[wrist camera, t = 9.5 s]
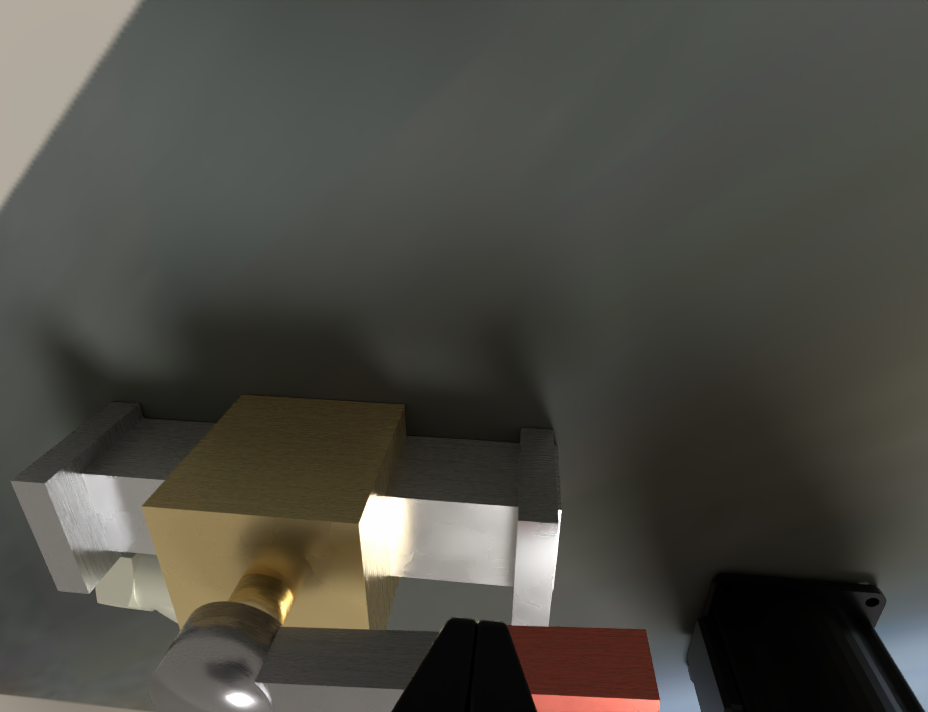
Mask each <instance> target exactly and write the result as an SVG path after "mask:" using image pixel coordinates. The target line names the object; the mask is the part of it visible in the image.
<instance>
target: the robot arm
mask: <svg viewBox="0 0 928 712" xmlns="http://www.w3.org/2000/svg"><path fill="white" fill-rule="evenodd" d="M726 585H728V586H726ZM885 604H886V598H885V596H884V595H883V593H882V592H881V590H880V589H879V588H878V587H876V586H872V585H862V584H851V583H839V582H827V581H815V580H803V579H791V578H779V577H767V576H756V575H744V574H732V573H722V574H719V575H717V576H716V577H714V579H713V580H712V583H711V587H710V591H709V594H708V598H707V602H706V605H705V609H704V613H703V615H701V616H700V617H699V618H698V619H697V620H696V624H695V628H694V632H693V635H692V639H691V643H690V647H689V650H688V654H687V660H688V663H689V668H688V672H689V676H690V679H691V681H692V682H693V683H694V686H695V690H696V694H697V698H698V701H699V705H700V709H701V712H925V710H924V709H923V707H922V706H921V704H920V702H919V701H918V699H917V697H916V696H915V694H914V693H913V691H912V689H911V688H910V686H909V684H908V683H907V681H906V679H905V678H904V676H903V675H902V673H901V671H900V670H899V668H898V666H897V665H896V663H895V662H894V660H893V658H892V657H891V655H890V653H889V652H888V650H887V649H886V647H885V645H884V644H883V642H882V640H881V639H880V637H879V636H878V634H877V632H876V631H875V629H874V628H875V625H876V623H877V621H878V619H879V617H880V615H881V613H882V611H883V609H884V606H885ZM391 712H537V709H536V707H535V704H534V701H533V698H532V695H531V692H530V689H529V686H528V683H527V681H526V678H525V675H524V672H523V669H522V666H521V663H520V660H519V657H518V655H517V652H516V649H515V646H514V643H513V640H512V637H511V634H510V631H509V629H508V626H507V625H506V623H504V622H502V621H493V620H481V621H479V622H478V625H477V622H476V620H475V619H472V618H461V617H451V618H449V619H448V620H447V622H446V623H445V625H444V626H443V628H442V630H441V631H440V633H439V634H438V636H437V638H436V639H435V641H434V643H433V644H432V646H431V647H430V649H429V651H428V652H427V654H426V656H425V657H424V659H423V660H422V662H421V664H420V665H419V667H418V669H417V670H416V672H415V674H414V675H413V677H412V678H411V680H410V682H409V683H408V685H407V687H406V688H405V690H404V691H403V693H402V695H401V696H400V698H399V700H398V701H397V703H396V704H395V706H394V708H393V709H392V711H391Z"/></svg>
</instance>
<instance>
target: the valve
mask: <svg viewBox="0 0 928 712" xmlns="http://www.w3.org/2000/svg"><path fill="white" fill-rule="evenodd" d="M11 483H12V486H13V488H14V490H15V493H16V495H17V497H18V499H19V502H20V504H21V506H22V509H23V511H24V513H25V516H26V518H27V520H28V522H29V525H30V527H31V529H32V532H33V534H34V536H35V539H36V541H37V543H38V545H39V548H40V550H41V552H42V555H43V557H44V559H45V561H46V564H47V566H48V568H49V571H50V573H51V575H52V578H53V580H54V582H55V584H56V587H57V589H58V591H65V592H75V593H85V594H89V593H90V592H91V591H92V590H93V589H94V588H95V586H96V585H97V584H98V583H99V582H100V581H101V579H102V578H103V577H104V576H105V575H106V573H107V572H108V571H109V570H110V569H111V568H112V566H113V565H114V564H115V563H116V562H117V561H118V559H119V558H120V557H121V556H122V555H123V553H124V552H131V553H142V554H154V555H157V558H158V561H159V564H160V567H161V570H162V573H163V576H164V580H165V583H166V586H167V589H168V592H169V595H170V599H171V602H172V605H173V608H174V611H175V614H176V618H177V621H178V624H179V627H180V630H181V629H182V627H183V626H184V624H185V622H186V621H187V619H188V618H189V616H190V615H191V614H192V612H193V611H194V610H196V609H197V608H199V607H200V606H202V605H205V604H208V603H212V602H219V601H229V602H237V603H243V604H246V605H250V606H253V607H255V608H258V609H260V610H262V611H264V612H266V613H268V614H270V615H271V616H272V617H274V618H275V619H277V620H278V621H279V622H280V623H281V624H282V625H283V626H284V627H309V628H340V629H370V630H386V626H387V622H388V619H389V615H390V611H391V607H392V603H393V600H394V596H395V592H396V588H397V585H398V581H399V577H411V578H422V579H433V580H445V581H456V582H467V583H478V584H489V585H501V586H512V587H513V599H512V625H515V626H547V627H548V625H549V615H550V605H551V595H552V590H553V589H554V579H555V570H556V560H557V550H558V541H559V531H560V521H561V512H562V508H561V493H560V478H559V463H558V447H557V445H554V431H553V430H552V429H536V428H521V438H520V443H512V442H497V441H482V440H466V439H451V438H436V437H421V436H406V419H405V405H404V404H387V403H371V402H354V401H338V400H321V399H305V398H288V397H272V396H255V395H241V396H240V398H239V399H238V400H237V401H236V402H235V403H234V404H233V405H232V406H231V408H230V409H229V410H228V411H227V412H226V413H225V414H224V415H223V416H222V418H221V419H220V420H219V421H218V422H217V423H208V422H192V421H177V420H162V419H147V418H144V417H143V413H142V410H141V406H140V403H124V402H111V403H109V404H108V405H107V406H105V407H104V408H103V409H102V410H100V411H99V412H98V413H96V414H95V415H94V416H93V417H91V418H90V419H89V420H88V421H86V422H85V423H84V424H82V425H81V426H80V427H79V428H77V429H76V430H75V431H73V432H72V433H71V434H70V435H68V436H67V437H66V438H64V439H63V440H62V441H61V442H59V443H58V444H57V445H56V446H54V447H53V448H52V449H50V450H49V451H48V452H47V453H45V454H44V455H43V456H41V457H40V458H39V459H38V460H36V461H35V462H34V463H32V464H31V465H30V466H29V467H27V468H26V469H25V470H24V471H22V472H21V473H20V474H18V475H17V476H16V477H15V478H13V479H12V480H11Z"/></svg>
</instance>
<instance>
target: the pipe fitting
mask: <svg viewBox="0 0 928 712" xmlns="http://www.w3.org/2000/svg"><path fill="white" fill-rule="evenodd" d="M96 596H97V602H98V603H101V604H106V605H111V606H117V607H123V608H130V609H138V610H146V611H153V610H154V609H155V610H157V611H159V612H160V613H162V614H163V615H165V616H167V617H168V618H170V619H171V620H173V621H175V622H176V623H178V621H177V618H176V614H175V611H174V608H173V605H172V602H171V599H170V595H169V592H168V589H167V586H166V583H165V580H164V576H163V573H162V570H161V567H160V564H159V561H158V558H157V555H154V554H142V553H131V552H124V553H123V555H122V556H121V557H120V558H119V559H118V561H117V562H116V563H115V564H114V565H113V566H112V568H111V569H110V570H109V571H108V572H107V573H106V575H105V576H104V577H103V578H102V579H101V581H100V582H99V583H98V584H97V585H96Z"/></svg>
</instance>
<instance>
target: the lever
mask: <svg viewBox="0 0 928 712" xmlns="http://www.w3.org/2000/svg"><path fill="white" fill-rule="evenodd" d="M477 625H478V624H477ZM507 626H508V629H509V631H510V634H511V637H512V640H513V643H514V646H515V649H516V652H517V655H518V657H519V660H520V663H521V666H522V669H523V672H524V675H525V678H526V681H527V683H528V686H529V689H530V692H531V695H532V698H533V701H534V704H535V707H536V709H537V712H659V706H660V698H659V693H658V688H657V683H656V678H655V673H654V668H653V663H652V658H651V653H650V648H649V643H648V638H647V633H646V630H645V629H612V628H580V627H547V626H515V625H507ZM439 633H440V632H431V631H401V630H370V629H340V628H309V627H284V626H283V625H282V624H281V623H280V622H279V621H278V620H277V619H275V618H274V617H272V616H271V615H270V614H268V613H266V612H264V611H262V610H260V609H258V608H255V607H253V606H250V605H246V604H243V603H237V602H229V601H219V602H212V603H208V604H205V605H202V606H200V607H199V608H197V609H196V610H194V611H193V612H192V614H191V615H190V616H189V618H188V619H187V621H186V622H185V624H184V626H183V627H182V629H181V630H180V632H179V634H178V635H177V637H176V638H175V640H174V641H173V643H172V645H171V646H170V648H169V649H168V651H167V653H166V654H165V656H164V657H163V659H162V660H161V662H160V664H159V665H158V667H157V668H156V670H155V672H154V673H153V675H152V676H151V678H150V680H149V684H148V692H149V696H150V699H151V701H152V703H153V704H154V706H155V707H156V709H157V710H158V711H159V712H391V711H392V709H393V708H394V706H395V704H396V703H397V701H398V700H399V698H400V696H401V695H402V693H403V691H404V690H405V688H406V687H407V685H408V683H409V682H410V680H411V678H412V677H413V675H414V674H415V672H416V670H417V669H418V667H419V665H420V664H421V662H422V660H423V659H424V657H425V656H426V654H427V652H428V651H429V649H430V647H431V646H432V644H433V643H434V641H435V639H436V638H437V636H438V634H439Z"/></svg>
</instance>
